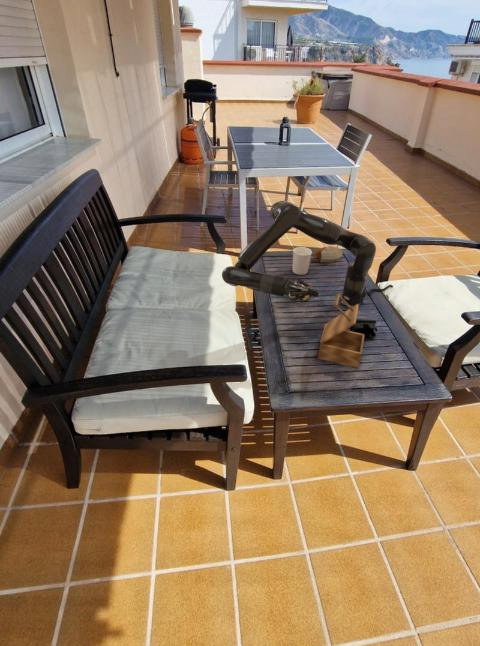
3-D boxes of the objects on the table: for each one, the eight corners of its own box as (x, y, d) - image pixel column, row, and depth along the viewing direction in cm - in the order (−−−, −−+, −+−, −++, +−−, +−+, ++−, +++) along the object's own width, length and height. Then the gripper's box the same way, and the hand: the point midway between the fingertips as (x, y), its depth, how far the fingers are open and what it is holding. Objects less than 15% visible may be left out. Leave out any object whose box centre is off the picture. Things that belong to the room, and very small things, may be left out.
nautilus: (305, 266, 215) (302, 255, 228) (344, 265, 215) (339, 254, 228) (306, 253, 211) (303, 242, 224) (346, 252, 211) (340, 241, 224)
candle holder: (309, 276, 206) (312, 255, 199) (291, 275, 205) (293, 254, 199) (308, 267, 214) (310, 247, 207) (290, 266, 214) (292, 246, 207)
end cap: (370, 329, 170) (374, 316, 166) (375, 339, 164) (379, 326, 160) (348, 328, 169) (351, 316, 165) (351, 339, 163) (355, 326, 160)
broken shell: (315, 302, 186) (306, 294, 179) (296, 306, 191) (287, 298, 184) (314, 285, 190) (306, 277, 182) (296, 289, 195) (287, 281, 188)
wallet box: (360, 348, 159) (364, 334, 155) (357, 368, 149) (361, 354, 145) (323, 339, 162) (325, 325, 158) (317, 358, 153) (320, 344, 148)
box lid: (358, 305, 149) (342, 287, 147) (355, 323, 139) (337, 305, 137) (326, 325, 158) (310, 308, 156) (321, 344, 148) (304, 326, 146)
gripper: (269, 284, 141) (316, 294, 137) (278, 268, 151) (322, 276, 147) (267, 301, 145) (313, 311, 141) (277, 284, 156) (320, 293, 151)
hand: (318, 293), depth 144 cm, fingers closed
